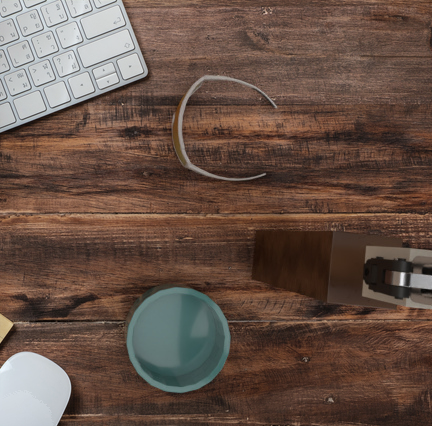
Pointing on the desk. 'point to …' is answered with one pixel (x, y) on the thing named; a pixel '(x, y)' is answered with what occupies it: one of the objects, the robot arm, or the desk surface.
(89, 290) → the desk surface
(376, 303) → the block
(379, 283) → the robot arm
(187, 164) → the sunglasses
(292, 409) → the desk surface
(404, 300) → the block
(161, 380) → the bowl
